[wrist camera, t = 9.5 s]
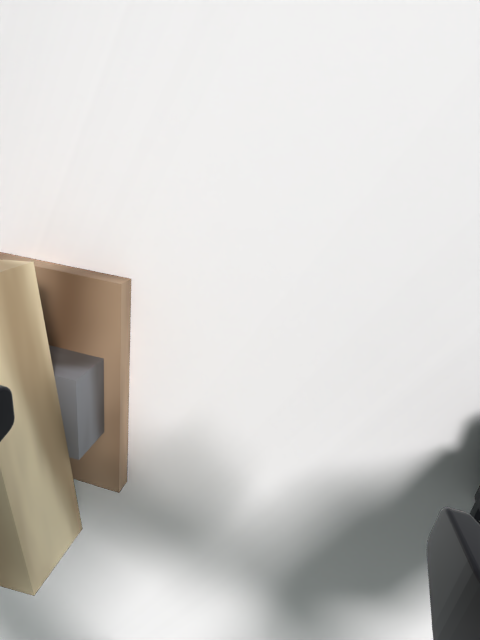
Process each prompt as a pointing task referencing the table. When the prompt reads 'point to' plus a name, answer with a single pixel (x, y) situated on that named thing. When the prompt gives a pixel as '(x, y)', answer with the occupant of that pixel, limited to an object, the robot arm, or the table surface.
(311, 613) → the table surface
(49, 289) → the fulcrum stand
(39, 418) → the beam
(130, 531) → the table surface
